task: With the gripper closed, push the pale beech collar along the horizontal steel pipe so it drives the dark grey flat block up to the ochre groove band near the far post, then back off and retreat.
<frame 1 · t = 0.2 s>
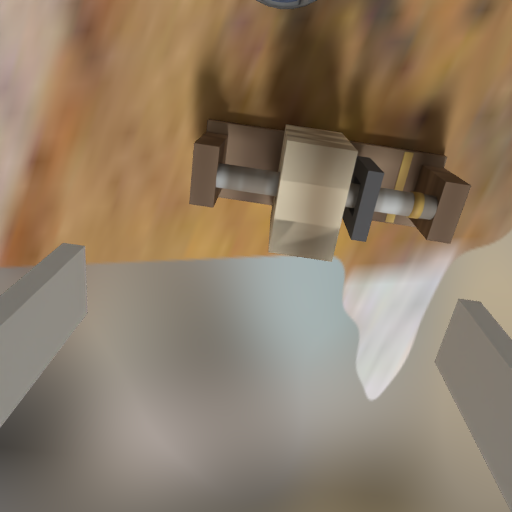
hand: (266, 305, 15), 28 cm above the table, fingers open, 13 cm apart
dark grey flat block: (361, 197, 36), point 6 cm above the table, slide at 0.0 cm
pipe stand: (319, 174, 41), on the table
sleeve: (307, 188, 36), point 6 cm above the table, slide at 0.0 cm
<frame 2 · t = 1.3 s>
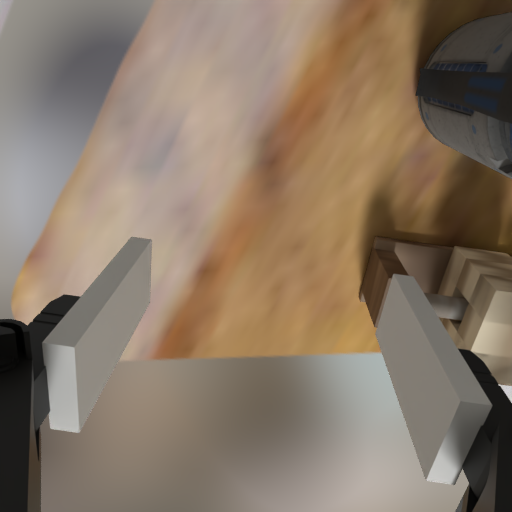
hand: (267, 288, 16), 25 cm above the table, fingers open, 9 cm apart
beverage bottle: (463, 85, 36), on the table
pipe stand: (473, 283, 44), on the table
sleeve: (484, 312, 38), point 6 cm above the table, slide at 0.0 cm
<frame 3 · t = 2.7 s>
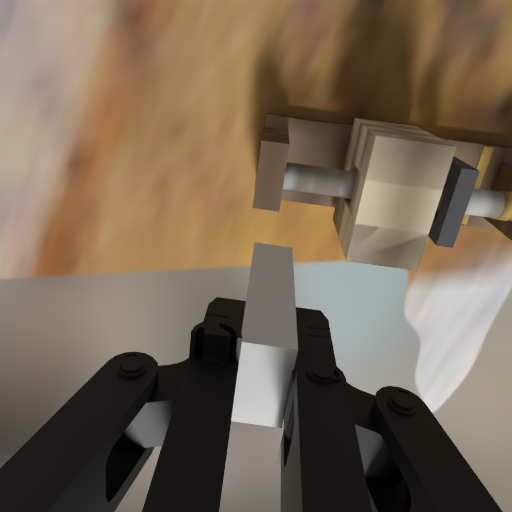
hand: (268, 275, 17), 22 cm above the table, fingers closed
dark grey flat block: (443, 197, 32), point 6 cm above the table, slide at 0.0 cm
pipe stand: (385, 172, 37), on the table
sleeve: (383, 189, 32), point 6 cm above the table, slide at 0.0 cm
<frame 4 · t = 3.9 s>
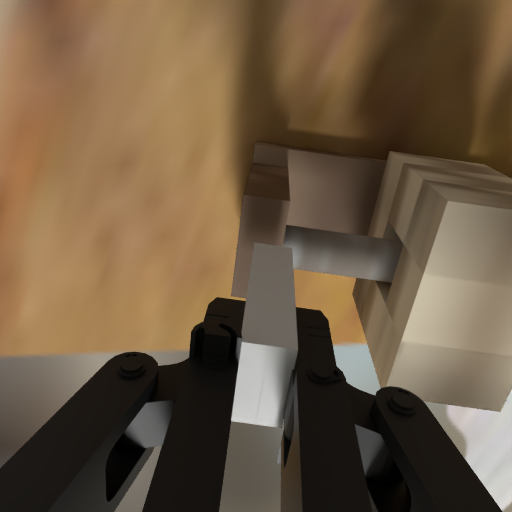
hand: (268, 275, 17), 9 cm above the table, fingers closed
pipe stand: (430, 226, 26), on the table
sleeve: (439, 267, 20), point 6 cm above the table, slide at 0.0 cm
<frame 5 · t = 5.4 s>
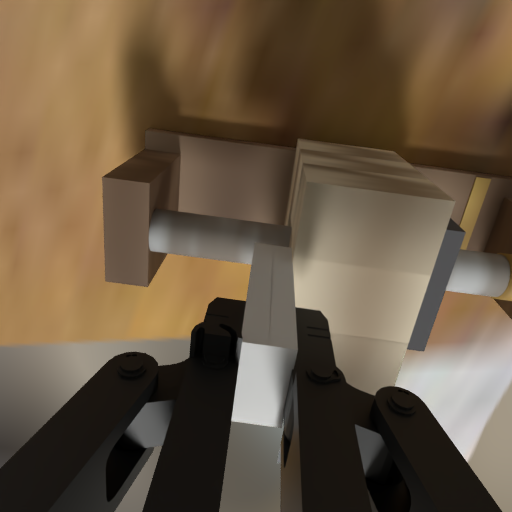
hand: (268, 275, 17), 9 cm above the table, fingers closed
dark grey flat block: (410, 264, 20), point 6 cm above the table, slide at 0.0 cm
pipe stand: (332, 213, 25), on the table
sleeve: (339, 254, 20), point 6 cm above the table, slide at 1.2 cm, touching gripper
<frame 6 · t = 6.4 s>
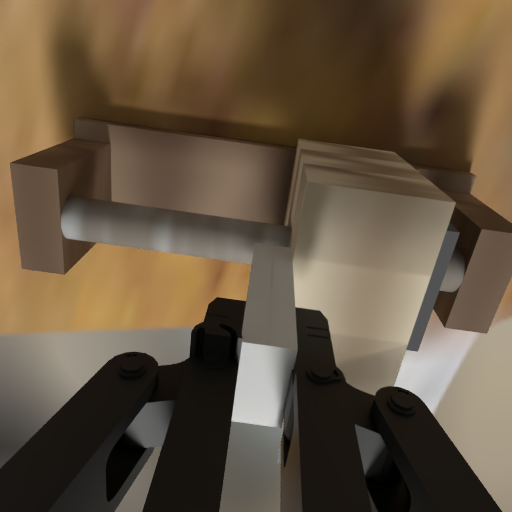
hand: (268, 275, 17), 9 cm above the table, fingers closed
dark grey flat block: (404, 264, 20), point 6 cm above the table, slide at 3.7 cm, touching sleeve
pipe stand: (266, 204, 25), on the table
sleeve: (339, 254, 20), point 6 cm above the table, slide at 5.1 cm, touching gripper, dark grey flat block
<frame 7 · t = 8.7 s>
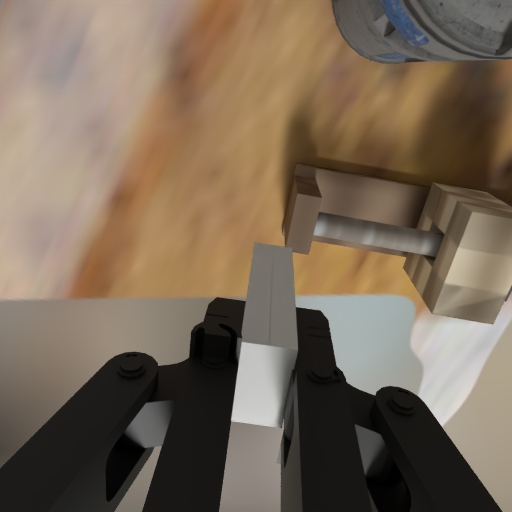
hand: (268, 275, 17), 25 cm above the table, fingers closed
dark grey flat block: (496, 255, 36), point 6 cm above the table, slide at 3.8 cm, touching sleeve
pipe stand: (400, 218, 42), on the table
sleeve: (461, 249, 36), point 6 cm above the table, slide at 5.2 cm, touching dark grey flat block
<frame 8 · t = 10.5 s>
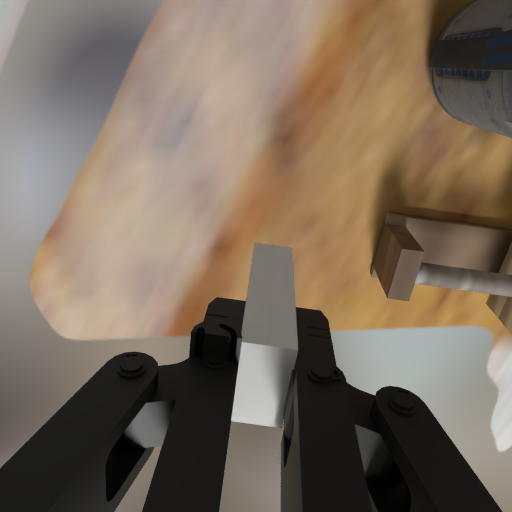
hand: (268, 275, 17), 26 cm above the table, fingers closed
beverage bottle: (474, 60, 37), on the table
pipe stand: (482, 258, 45), on the table
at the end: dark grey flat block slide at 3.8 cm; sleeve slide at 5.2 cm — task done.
